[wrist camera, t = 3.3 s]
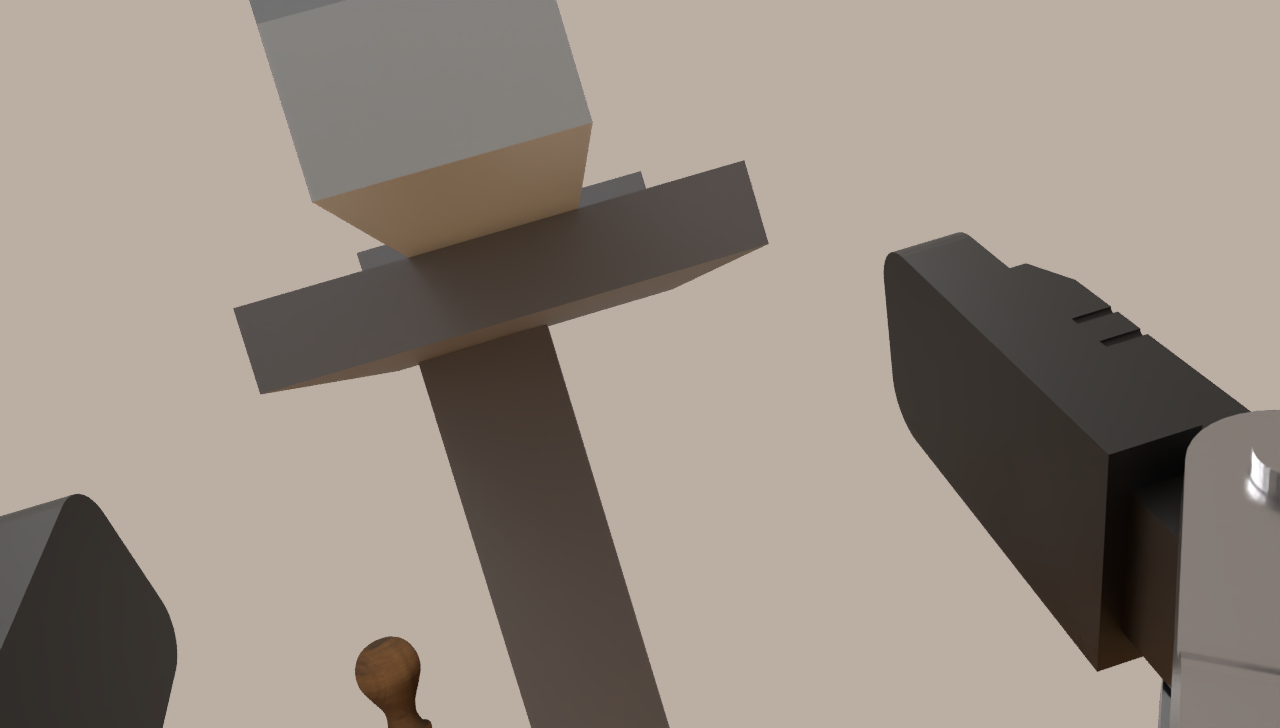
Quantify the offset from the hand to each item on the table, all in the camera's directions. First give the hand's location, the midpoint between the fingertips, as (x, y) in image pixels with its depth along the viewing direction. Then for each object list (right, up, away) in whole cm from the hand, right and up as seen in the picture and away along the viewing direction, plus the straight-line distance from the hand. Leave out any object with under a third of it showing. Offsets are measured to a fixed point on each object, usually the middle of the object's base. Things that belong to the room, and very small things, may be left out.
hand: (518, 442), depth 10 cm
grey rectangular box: (-2, +4, +16) cm, 16 cm away
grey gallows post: (+6, -27, +24) cm, 37 cm away
